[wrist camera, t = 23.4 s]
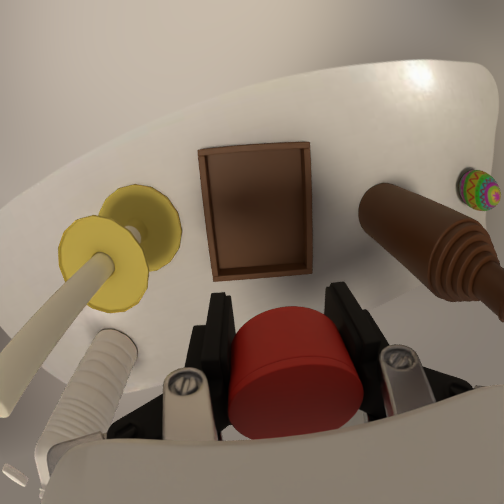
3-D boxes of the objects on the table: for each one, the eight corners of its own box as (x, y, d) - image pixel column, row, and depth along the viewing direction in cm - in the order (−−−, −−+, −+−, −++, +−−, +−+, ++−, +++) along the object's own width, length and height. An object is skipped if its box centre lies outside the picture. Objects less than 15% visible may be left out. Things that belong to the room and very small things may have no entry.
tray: (307, 264, 32) (312, 273, 30) (215, 271, 32) (213, 281, 30) (304, 141, 27) (309, 142, 25) (200, 149, 27) (197, 149, 25)
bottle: (405, 236, 31) (525, 335, 13) (357, 240, 31) (466, 361, 13) (408, 183, 29) (553, 248, 10) (358, 183, 29) (500, 258, 10)
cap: (348, 300, 9) (378, 353, 7) (335, 381, 11) (352, 435, 8) (224, 309, 9) (219, 370, 7) (234, 391, 11) (234, 448, 8)
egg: (455, 207, 30) (485, 221, 25) (453, 169, 28) (484, 178, 23) (479, 201, 30) (508, 214, 24) (478, 165, 28) (509, 174, 23)
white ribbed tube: (146, 358, 37) (95, 523, 14) (114, 367, 38) (57, 513, 14) (109, 308, 34) (17, 475, 11) (78, 322, 35) (-10, 466, 11)
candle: (104, 270, 32) (-31, 456, 7) (94, 186, 28) (-123, 316, 3) (184, 273, 32) (103, 524, 7) (181, 183, 29) (-29, 387, 4)
